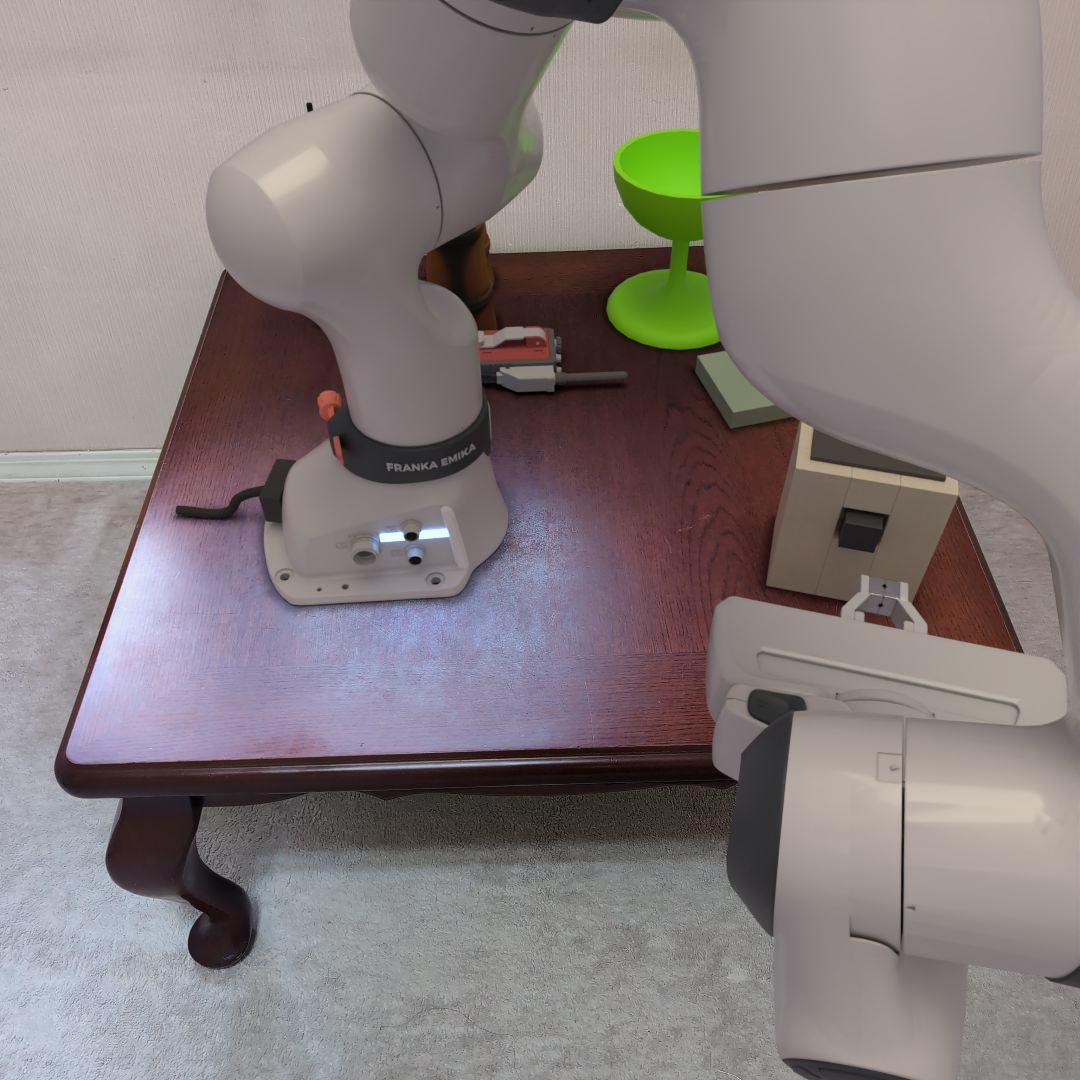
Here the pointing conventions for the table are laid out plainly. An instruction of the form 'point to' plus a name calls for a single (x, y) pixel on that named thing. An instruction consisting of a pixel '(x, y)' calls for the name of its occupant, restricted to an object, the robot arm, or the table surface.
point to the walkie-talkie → (528, 360)
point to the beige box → (865, 484)
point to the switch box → (734, 392)
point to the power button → (860, 530)
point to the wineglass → (672, 213)
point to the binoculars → (467, 273)
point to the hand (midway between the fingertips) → (881, 584)
